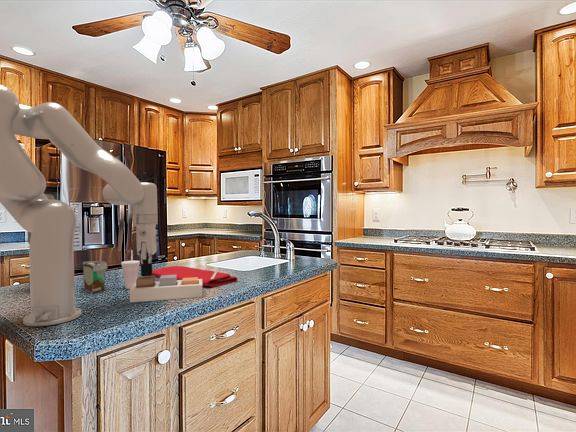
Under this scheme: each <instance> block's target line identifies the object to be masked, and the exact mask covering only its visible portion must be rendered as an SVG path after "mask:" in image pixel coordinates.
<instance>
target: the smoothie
mask: <svg viewBox="0 0 576 432" xmlns="http://www.w3.org/2000/svg"><path fill="white" fill-rule="evenodd" d="M133 256H134V254H133V249H131V250H130V260H125V261H121V263H120V265H121V267H122V273H123V274H122V275H123V280H124V287H125V290H130V289H131V288H132V286H133V285H134V284H135V283H136V279H137V278H138V277H139V269H140V265H141V260H134V259H133V258H134V257H133Z"/></svg>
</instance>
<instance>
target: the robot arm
mask: <svg viewBox="0 0 576 432" xmlns="http://www.w3.org/2000/svg"><path fill="white" fill-rule="evenodd" d="M16 136H20V137H26V138H33V139H39V140H49V141H50V142H51V144H52V145H53V146H55V147H56V148H57V149H58V150H59V151H60V153H62V154H63V156H64V157H66V159H67V160H68V161H69V163H71V164H72V165H74V166H75V167H77V168H80V169H81V170H84V171H87V172H90V173H91V174H94V175H96V176H98V177H99V178H100V179H102V180H103V181H105V183H106V184H105V186H104V187H103V189H102V197H103V198H104V200H105V201H106V202H107V203H109V204H110V205H115V206H127V205H129V206H132V207H131V209H132V226H136V231H135V232H136V233H135V234H136V254H137V256H139V257H140V277H143V276H151V275H152V271H153V263H152V261H153V260H152V259H153V255H155V254H156V253H157V237H156V236H157V232H156V225H158V219H159V217H158V188H157V187H158V186H157V185H156V184H155V183H153V182H147V181H145V182H141V181H140V180H139V178H137V176H136V175H135V174H134V173H133V172H132V170H130V168H129V167H127V166H126V164H124V163H123V162H122V161H121V160H120V159H118V158H116V157H115V156H114V155H112V154H111V153H110V152H108V151H106V150H105V149H103V148H102V147H101V146H100V145H99V144H98V143H97V142H96V141H95V140H94V139H93V138H92V137H91V135H89V133H88V132H87V131H86V130H85V128H84V127H82V125H81V124H80V123H79V122H78V121H77V119H76V118H75V117H73V115H72V113H70V112H69V110H67V108H65V107H64V106H62V105H61V104H60V103H57V102H52V101H50V102H42V103H40V104H37V105H36V106H29V105H24V104H22V103H21V104H20V102H19V99H18V97H17V95H16V94H15V93H14V92H13V90H11V89H10V88H8V87H7V86H6V85H2V84H0V204H1V206H3V207H4V209H6V211H7V212H8V213H9V214H10V215H11V217H12V218H13V219H14V220H15V221H16V223H17V224H18V225H19V226H20V227H21V228H22V229H24V231H26V232H27V233H28V232H30V233H31V239H30V244H29V247H28V248H29V249H28V250H29V251H28V252H29V253H28V259H29V260H28V262H29V273H30V285H29V290H30V291H29V300H30V301H29V304H30V307H29V308H30V310H29V311H30V314H27V315H26V316H25V317H23V319H22V324H23V325H24V326H27V327H44V326H45V327H46V326H53V325H58V324H63V323H67V322H70V321H73V320H75V319H77V318H79V317H81V315H82V309H81V308H78V307H76V304H75V302H76V301H75V257H74V256H75V255H74V250H75V249H74V248H75V247H74V246H75V235H76V227H77V216H76V213H75V211H74V209H73V208H72V207H71V205H69V204H68V203H66V202H64V201H62V200H58V199H55V200H49V199H48V198H47V197H46V195H45V194H46V193H45V194H44V192H45V191H46V189H47V181H46V177H45V176H44V174H43V173H42V172H41V171H40V169H39V168H38V167H37V166H36V164H35V163H34V162H33V160H32V159H31V158H30V156H29V155H28V154H27V152H26V151H25V149H24V148H23V147H22V145H21V144H20V142H19V140H18V139H17V137H16Z"/></svg>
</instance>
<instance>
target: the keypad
mask: <svg viewBox="0 0 576 432" xmlns="http://www.w3.org/2000/svg"><path fill="white" fill-rule="evenodd" d="M194 298H196V299H197V298H203V286H202V279H198V284H189V285H182V280H177V285H173V286H160V280H159V281H155V286H154V287H141V288H136V283H135V284H134V285H133V286H132V288H131V289H129V303H141V302H142V303H144V302H152V301H153V302H154V301H155V302H156V301H166V300H168V301H169V300H182V299H194Z"/></svg>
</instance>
